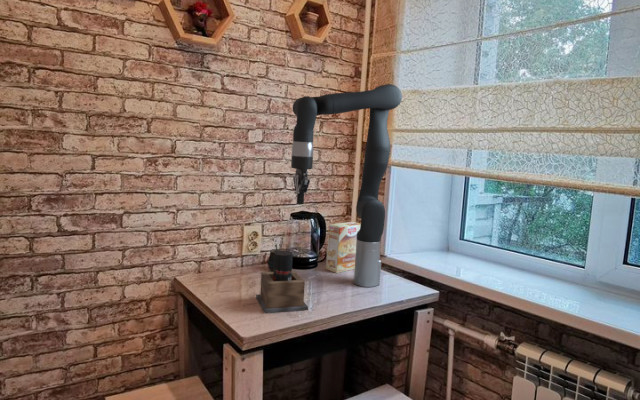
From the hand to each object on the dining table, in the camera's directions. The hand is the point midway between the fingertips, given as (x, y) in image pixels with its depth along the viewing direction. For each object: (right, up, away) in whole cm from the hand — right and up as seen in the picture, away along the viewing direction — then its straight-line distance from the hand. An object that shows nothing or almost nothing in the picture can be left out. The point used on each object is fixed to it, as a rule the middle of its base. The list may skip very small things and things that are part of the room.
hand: (299, 203), depth 154 cm
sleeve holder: (-6, -33, -12) cm, 35 cm away
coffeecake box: (+17, -28, +32) cm, 46 cm away
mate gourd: (-11, -28, +25) cm, 39 cm away
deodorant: (-6, -31, -12) cm, 34 cm away
